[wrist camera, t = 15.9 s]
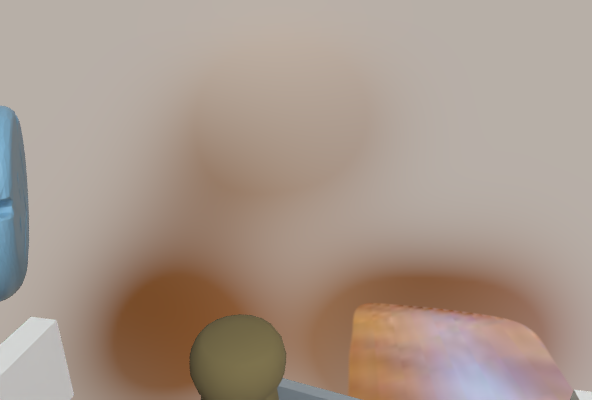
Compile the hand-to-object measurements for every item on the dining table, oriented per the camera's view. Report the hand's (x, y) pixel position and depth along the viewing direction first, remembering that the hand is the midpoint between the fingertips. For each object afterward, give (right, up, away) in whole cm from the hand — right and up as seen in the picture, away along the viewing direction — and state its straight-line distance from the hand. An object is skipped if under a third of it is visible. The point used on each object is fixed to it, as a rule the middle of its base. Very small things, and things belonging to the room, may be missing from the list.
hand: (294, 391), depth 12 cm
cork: (-3, -12, +16) cm, 21 cm away
